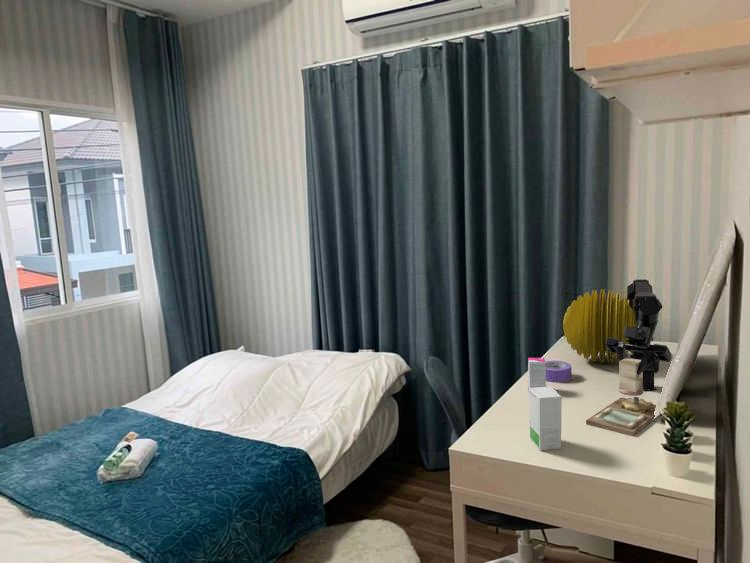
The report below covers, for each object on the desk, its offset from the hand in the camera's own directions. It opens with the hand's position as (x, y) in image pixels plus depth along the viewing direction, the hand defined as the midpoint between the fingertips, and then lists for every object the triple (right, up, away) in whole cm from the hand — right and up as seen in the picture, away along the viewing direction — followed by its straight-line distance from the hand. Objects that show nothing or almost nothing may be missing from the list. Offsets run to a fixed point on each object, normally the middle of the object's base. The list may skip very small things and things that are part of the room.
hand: (628, 372), depth 172 cm
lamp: (+14, -5, +54) cm, 56 cm away
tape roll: (-10, -9, +40) cm, 42 cm away
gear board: (-1, -14, 0) cm, 14 cm away
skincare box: (-30, -18, -14) cm, 38 cm away
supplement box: (-20, -11, +28) cm, 36 cm away
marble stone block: (+1, -6, +2) cm, 7 cm away
